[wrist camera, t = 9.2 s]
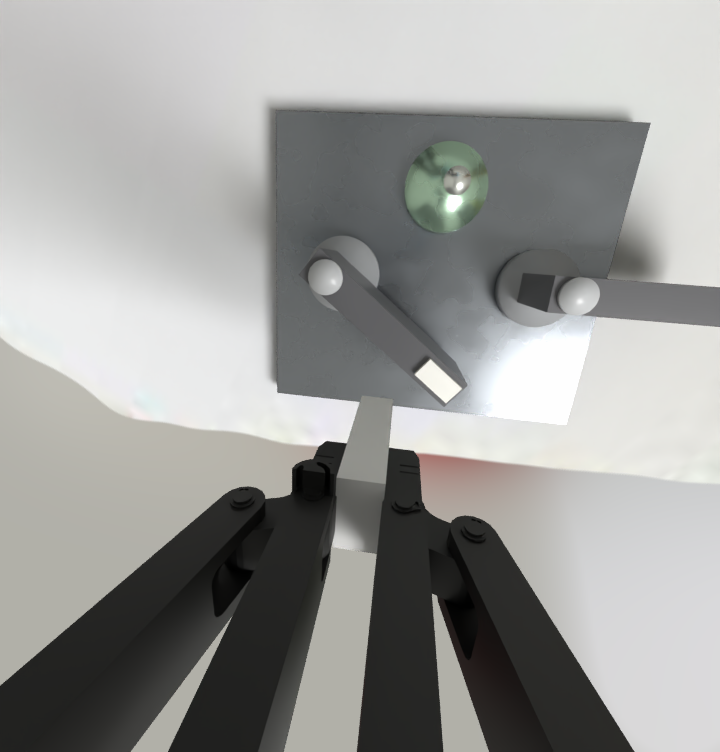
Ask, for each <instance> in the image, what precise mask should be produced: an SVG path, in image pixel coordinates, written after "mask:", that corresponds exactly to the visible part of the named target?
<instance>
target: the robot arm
mask: <svg viewBox="0 0 720 752" xmlns="http://www.w3.org/2000/svg"><path fill="white" fill-rule="evenodd" d="M392 406H393V399H388V398H379V397H370V396H362V397H361V400H360V403H359V407H358V410H357V413H356V416H355V420H354V423H353V426H352V429H351V432H350V436H349V439H348V442H347V444H346V443H338V442H330V441H326V442H325V443H323V444H322V445H321V446H319V447H318V450H317V452H316V454H315V456H314V459H310V460H305V461H302V462H300V463H298V464H296V465H295V466H294V467H293V468H292V492H291V494H290V495H288V496H285V497H280V498H271V499H265V495H264V493H263V492H262V491H261V490H259V489H257V488H254V487H239V488H237V489H233V490H231V491H229V492H228V493H226V494H225V495H223V496H222V497H221V498H220V499H219V500H217V501H216V502H215V503H214V504H213V505H212V506H211V507H209V508H208V509H207V510H206V511H205V512H203V513H202V514H201V515H200V516H199V517H198V518H196V519H195V520H194V521H193V522H192V523H190V524H189V525H188V526H187V527H186V528H185V529H184V530H182V531H181V532H180V533H179V534H178V535H176V536H175V537H174V538H173V539H172V540H171V541H169V542H168V543H167V544H166V545H165V546H164V547H162V548H161V549H160V550H159V551H158V552H156V553H155V554H154V555H153V556H152V557H151V558H149V559H148V560H147V561H146V562H145V563H144V564H142V565H141V566H140V567H139V568H138V569H137V570H135V571H134V572H133V573H132V574H131V575H130V576H128V577H127V578H126V579H125V580H124V581H122V582H121V583H120V584H119V585H118V586H117V587H116V588H114V589H113V590H112V591H111V592H110V593H108V594H107V595H106V596H105V597H104V598H103V599H101V600H100V601H99V602H98V603H97V604H96V605H94V606H93V607H92V608H91V609H90V610H89V611H87V612H86V613H85V614H84V615H83V616H82V617H80V618H79V619H78V620H77V621H76V622H75V623H73V624H72V625H71V626H70V627H69V628H67V629H66V630H65V631H64V632H63V633H61V634H60V635H59V636H58V637H57V638H56V639H54V640H53V641H52V642H51V643H50V644H49V645H47V646H46V647H45V648H44V649H43V650H42V651H40V652H39V653H38V654H37V655H36V656H35V657H33V658H32V659H31V660H30V661H29V662H27V663H26V664H25V665H24V666H23V667H22V668H20V669H19V670H18V671H17V672H16V673H15V674H14V675H12V676H11V677H10V678H9V679H8V680H7V681H5V682H4V683H3V684H2V685H1V686H0V752H131V750H132V749H133V748H134V746H135V745H136V744H137V742H138V741H139V739H140V738H141V737H142V736H143V734H144V733H145V731H146V730H147V729H148V728H149V726H150V725H151V724H152V722H153V721H154V720H155V718H156V717H157V716H158V714H159V713H160V712H161V710H162V709H163V707H164V706H165V705H166V704H167V702H168V701H169V699H170V698H171V697H172V696H173V694H174V693H175V692H176V690H177V689H178V687H179V686H180V685H181V684H182V682H183V681H184V680H185V678H186V677H187V675H188V674H189V673H190V672H191V670H192V669H193V668H194V666H195V665H196V664H197V662H198V661H199V659H200V658H201V657H202V656H203V654H204V653H205V652H206V650H207V649H208V648H209V646H210V645H211V644H212V642H213V641H214V640H215V638H216V637H217V636H218V634H219V633H220V631H221V630H222V629H223V627H224V626H225V625H226V623H227V622H228V621H229V619H230V618H231V617H232V618H231V620H230V623H229V625H228V627H227V629H226V631H225V633H224V635H223V637H222V639H221V641H220V644H219V646H218V648H217V650H216V652H215V654H214V656H213V658H212V660H211V663H210V665H209V667H208V669H207V671H206V673H205V675H204V677H203V679H202V681H201V683H200V686H199V688H198V690H197V692H196V694H195V696H194V698H193V700H192V702H191V705H190V707H189V709H188V711H187V713H186V715H185V717H184V719H183V722H182V723H181V726H180V728H179V730H178V732H177V734H176V736H175V738H174V740H173V742H172V744H171V747H170V749H169V751H168V752H284V748H285V744H286V740H287V736H288V732H289V728H290V724H291V720H292V715H293V711H294V707H295V703H296V698H297V695H298V691H299V686H300V683H301V678H302V674H303V670H304V666H305V662H306V658H307V653H308V650H309V646H310V642H311V637H312V633H313V629H314V625H315V621H316V617H317V613H318V608H319V605H320V600H321V596H322V592H323V588H324V584H325V579H326V576H327V572H328V568H329V563H330V552H331V546H332V542H333V547H335V548H342V549H348V550H355V551H362V552H368V553H375V554H377V559H376V567H375V576H374V585H373V586H374V587H373V597H372V606H371V616H370V626H369V636H368V646H367V656H366V666H365V677H364V687H363V696H362V707H361V716H360V726H359V736H358V746H357V752H443V741H442V728H441V713H440V700H439V686H438V672H437V659H436V645H435V631H434V619H433V606H432V605H433V604H432V594H435V595H437V597H438V603H439V606H440V609H441V612H442V615H443V617H444V621H445V623H446V626H447V629H448V632H449V635H450V638H451V641H452V644H453V647H454V650H455V653H456V656H457V658H458V662H459V664H460V667H461V670H462V673H463V676H464V679H465V682H466V685H467V688H468V691H469V694H470V697H471V700H472V703H473V706H474V708H475V711H476V714H477V717H478V720H479V723H480V726H481V729H482V732H483V735H484V738H485V741H486V744H487V746H488V750H489V752H634V750H633V749H632V747H631V746H630V744H629V742H628V741H627V739H626V738H625V736H624V734H623V733H622V731H621V730H620V728H619V727H618V725H617V723H616V722H615V720H614V719H613V717H612V715H611V714H610V712H609V711H608V709H607V707H606V706H605V704H604V703H603V701H602V700H601V698H600V696H599V695H598V693H597V692H596V690H595V688H594V687H593V685H592V684H591V682H590V680H589V679H588V677H587V676H586V674H585V673H584V671H583V670H582V668H581V666H580V664H579V663H578V662H577V660H576V658H575V657H574V655H573V653H572V652H571V650H570V649H569V647H568V645H567V644H566V642H565V641H564V639H563V638H562V636H561V634H560V633H559V631H558V630H557V628H556V626H555V625H554V623H553V622H552V620H551V618H550V617H549V615H548V614H547V612H546V610H545V609H544V607H543V606H542V604H541V603H540V601H539V599H538V598H537V596H536V595H535V593H534V591H533V590H532V588H531V587H530V585H529V583H528V582H527V580H526V579H525V577H524V575H523V574H522V572H521V571H520V569H519V567H518V566H517V564H516V563H515V561H514V560H513V558H512V556H511V555H510V553H509V552H508V550H507V548H506V547H505V546H504V544H503V542H502V540H501V539H500V537H499V536H498V534H497V533H496V531H495V530H494V529H493V528H492V527H491V526H490V525H489V524H488V523H486V522H485V521H483V520H481V519H479V518H476V517H473V516H460V517H457V518H455V519H454V520H452V522H451V523H448V522H446V521H443V520H441V519H438V518H437V517H435V516H433V515H432V514H430V513H429V512H428V511H427V510H426V509H425V506H424V503H423V502H422V496H421V481H420V468H419V467H420V464H419V458H418V457H417V455H416V454H415V452H414V451H410V450H402V449H394V448H389V440H390V429H391V418H392Z"/></svg>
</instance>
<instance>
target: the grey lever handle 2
mask: <svg viewBox="0 0 720 752" xmlns="http://www.w3.org/2000/svg"><path fill="white" fill-rule="evenodd" d="M495 297H496V302H497V305H498V307H499V309H500V310H501V312H502V313H503V314H504V315H505V316H506V317H507V318H509V319H510V320H512V321H514V322H516V323H518V324H520V325H523V326H526V327H543V326H547V325H550V324H553V323H555V322H557V321H558V320H560V319H561V318H563V317H564V316H565V315H566V314H570V315H583V316H595V317H607V318H619V319H631V320H643V321H655V322H667V323H679V324H691V325H703V326H715V327H720V287H707V286H694V285H680V284H666V283H653V282H639V281H625V280H612V279H598V278H584V277H580V272H579V270H578V267H577V265H576V264H575V262H574V261H573V260H572V259H571V258H570V257H569V256H568V255H566V254H565V253H563V252H560V251H558V250H554V249H537V250H530V251H526V252H523V253H521V254H519V255H517V256H516V257H514V258H513V259H511V260H510V261H509V262H508V263H507V264H506V265H505V266H504V268H503V269H502V271H501V272H500V274H499V276H498V279H497V282H496V286H495Z"/></svg>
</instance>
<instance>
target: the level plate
mask: <svg viewBox="0 0 720 752" xmlns="http://www.w3.org/2000/svg"><path fill="white" fill-rule="evenodd" d="M649 127H650V123H642V122H612V121H582V120H552V119H522V118H492V117H462V116H432V115H402V114H372V113H343V112H313V111H283V110H276V183H277V393H285V394H294V395H303V396H312V397H321V398H330V399H339V400H348V401H357V402H360V400H361V397H362V396H370V397H379V398H388V399H393V406H401V407H410V408H419V409H428V410H437V411H446V412H455V413H464V414H473V415H482V416H491V417H500V418H509V419H518V420H527V421H536V422H545V423H554V424H563V425H566V423H567V419H568V416H569V412H570V409H571V405H572V401H573V398H574V394H575V391H576V387H577V384H578V380H579V377H580V373H581V369H582V366H583V362H584V359H585V355H586V352H587V348H588V344H589V341H590V337H591V334H592V330H593V327H594V323H595V319H596V317H595V316H583V315H570V314H566V315H565V316H564V317H563V318H561V319H560V320H558V321H557V322H555V323H553V324H550V325H547V326H543V327H526V326H523V325H520V324H518V323H516V322H514V321H512V320H510V319H509V318H507V317H506V316H505V315H504V314H503V313H502V312H501V310H500V309H499V307H498V305H497V302H496V297H495V286H496V282H497V279H498V276H499V274H500V272H501V271H502V269H503V268H504V266H505V265H506V264H507V263H508V262H509V261H510V260H511V259H513V258H514V257H516V256H517V255H519V254H521V253H523V252H526V251H530V250H537V249H554V250H558V251H560V252H563V253H565V254H566V255H568V256H569V257H570V258H571V259H572V260H573V261H574V262H575V264H576V265H577V267H578V270H579V272H580V277H584V278H598V279H607V277H608V273H609V270H610V266H611V262H612V259H613V255H614V252H615V248H616V245H617V241H618V237H619V234H620V230H621V227H622V223H623V220H624V216H625V212H626V209H627V205H628V202H629V198H630V195H631V191H632V187H633V184H634V180H635V177H636V173H637V170H638V166H639V163H640V159H641V155H642V152H643V148H644V145H645V141H646V138H647V134H648V130H649ZM334 236H350V237H353V238H356V239H358V240H360V241H362V242H363V243H365V244H366V245H367V246H368V247H369V248H370V249H371V250H372V251H373V253H374V254H375V256H376V258H377V261H378V264H379V270H380V278H379V283H378V286H377V289H378V290H380V291H381V292H382V293H383V294H384V295H385V296H386V297H387V298H388V299H389V300H390V301H391V302H392V303H393V304H394V305H396V306H397V307H398V308H399V309H400V310H401V311H402V312H403V313H404V314H405V315H406V316H407V317H408V318H409V319H410V320H412V321H413V322H414V323H415V324H416V325H417V326H418V327H419V328H420V329H421V330H422V331H423V332H424V333H425V334H426V335H428V336H429V337H430V338H431V339H432V340H433V341H434V342H435V343H436V344H437V345H438V346H439V347H440V348H441V349H443V350H444V351H445V352H446V353H447V354H448V355H449V356H450V357H451V358H452V359H453V360H454V361H455V362H456V364H457V366H458V367H459V369H460V371H461V373H462V375H463V377H464V379H465V381H466V383H467V385H468V386H467V387H466V388H465V389H464V390H463V391H461V392H460V393H459V394H458V395H457V396H456V397H455V398H454V399H453V400H451V401H450V402H449V403H448V404H447V405H446V406H445V407H443V406H442V405H441V404H440V403H439V402H438V401H437V400H436V399H434V398H433V397H432V396H431V395H430V394H429V393H428V392H427V391H426V390H425V389H423V388H422V387H421V386H420V385H419V384H418V383H417V382H416V381H415V380H414V379H412V378H411V377H410V376H409V375H408V374H407V373H406V372H405V371H404V370H403V369H401V368H400V367H399V366H398V365H397V364H396V363H395V362H394V361H393V360H392V359H390V358H389V357H388V356H387V355H386V354H385V353H384V352H383V351H382V350H381V349H379V348H378V347H377V346H376V345H375V344H374V343H373V342H372V341H371V340H370V339H369V338H367V337H366V336H365V335H364V334H363V333H362V332H361V331H360V330H359V329H358V328H356V327H355V326H354V325H353V324H352V323H351V322H350V321H349V320H348V319H347V318H345V317H344V316H343V315H342V314H341V313H340V312H339V311H336V310H333V309H330V308H328V307H326V306H324V305H323V304H322V303H320V302H319V301H318V300H317V299H316V297H315V296H314V295H313V293H312V291H311V289H310V287H309V284H308V283H307V282H306V281H305V280H304V279H303V278H301V277H300V276H299V274H300V272H301V271H302V270H303V268H304V267H305V266H306V265H307V263H308V262H309V259H310V256H311V254H312V253H313V251H314V250H315V248H316V247H317V246H318V245H319V244H320V243H322V242H323V241H325V240H326V239H329V238H331V237H334Z"/></svg>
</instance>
